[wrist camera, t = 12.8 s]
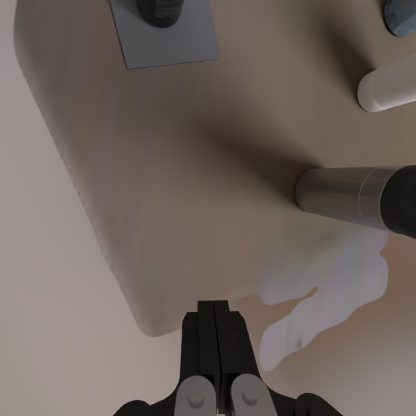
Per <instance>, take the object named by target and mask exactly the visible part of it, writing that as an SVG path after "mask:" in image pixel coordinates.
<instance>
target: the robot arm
mask: <svg viewBox="0 0 416 416" xmlns="http://www.w3.org/2000/svg"><path fill="white" fill-rule="evenodd" d="M295 198H296V202H297V204H298V205H299V207H300V208H301V209H302V210H304V211H306V212H309V213H313V214H317V215H321V216H326V217H330V218H334V219H338V220H343V221H347V222H351V223H355V224H360V225H364V226H368V227H372V228H377V229H381V230H386V231H390V232H394V233H398V234H403V235H406V236H409V237H411V238H414V239H416V165H412V166H382V167H347V168H313V169H309V170H308V171H306V172H304V173H303V174H302V175H301V177H300V178H299V180H298V181H297V184H296V187H295ZM217 408H218V413H219V414H225V416H343V415H342V414H340V413H339V412H338V411H337V410H336V409H334V408H333V407H332V406H331V405H330V404H328V403H327V402H326V401H325V400H324V399H322V398H321V397H319V396H317V395H315V394H312V393H304V394H301V395H300V396H299V397H298V398H297V400H296V399H293V398H290V397H287V396H284V395H281V394H278V393H276V392H274V391H273V390H271V389H270V388H269V387H268V386H267V385H266V384H265V383H264V381H263V380H262V378H261V377H260V374H259V371H258V368H257V364H256V360H255V356H254V353H253V349H252V346H251V341H250V339H249V334H248V331H247V327H246V323H245V320H244V318H243V317H242V316H241V314H240V313H239V312H238V311H230V310H229V305H228V301H227V300H213V303H212V300H211V301H198V306H197V312H187V314H186V315H185V317H184V319H183V322H182V343H181V364H180V379H179V382H178V385H177V387H176V389H175V390H174V391H173V393H172V394H171V395H170V396H168V397H167V398H165V399H164V400H161V401H159V402H157V403H155V404H152V405H149V404H147V403H146V402H144V401H141V400H134V401H131V402H128V403H126V404H124V405H123V406H122V407H121V408H120V409H119V410H118V411H117V412H116V413H115V414H114V415H113V416H216V414H217Z"/></svg>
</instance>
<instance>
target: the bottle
mask: <svg viewBox="0 0 416 416" xmlns="http://www.w3.org/2000/svg"><path fill="white" fill-rule="evenodd" d="M357 95H358V101H359V104H360V105H361V107H362V108H363V109H364V110H365V111H367V112H375V111H381V110H384V109H387V108H390V107H394V106H398V105H401V104H405V103H409V102H413V101H416V53H413V54H411V55H409V56H407V57H404V58H402V59H400V60H398V61H395V62H393V63H391V64H389V65H386V66H384V67H381V68H378V69H376V70H374V71H372V72H370V73H368V74H366V75H365V76H364V77H363V78H362V80H361V81H360V83H359V87H358V91H357Z"/></svg>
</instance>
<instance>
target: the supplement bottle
mask: <svg viewBox="0 0 416 416" xmlns="http://www.w3.org/2000/svg"><path fill="white" fill-rule="evenodd" d="M135 2H136V6H137V9H138V11H139V13H140V14H141V16H142V17H143V18H144V19H145V20H146V21H147V22H148V23H149V24H151V25H152V26H154V27H157V28H168V27H171V26H173V25H174V24H175V23H176V22H177V21H178V19H179V17H180V14H181V11H182V7H183V3H184V0H135Z"/></svg>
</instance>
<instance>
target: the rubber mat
mask: <svg viewBox="0 0 416 416" xmlns="http://www.w3.org/2000/svg"><path fill="white" fill-rule="evenodd" d="M110 4H111V7H112V11H113V15H114V19H115V23H116V27H117V30H118V34H119V38H120V42H121V46H122V50H123V53H124V57H125V61H126V65H127V69H135V68H145V67H154V66H163V65H172V64H181V63H190V62H199V61H209V60H218V59H219V54H218V48H217V43H216V37H215V32H214V26H213V21H212V15H211V10H210V4H209V0H184V3H183V7H182V11H181V14H180V17H179V19H178V21H177V22H176V23H175V24H174V25H173V26H171V27H168V28H157V27H154V26H152V25H151V24H149V23H148V22H147V21H146V20H145V19H144V18H143V17H142V16H141V14H140V13H139V11H138V9H137V6H136V2H135V0H110Z"/></svg>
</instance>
